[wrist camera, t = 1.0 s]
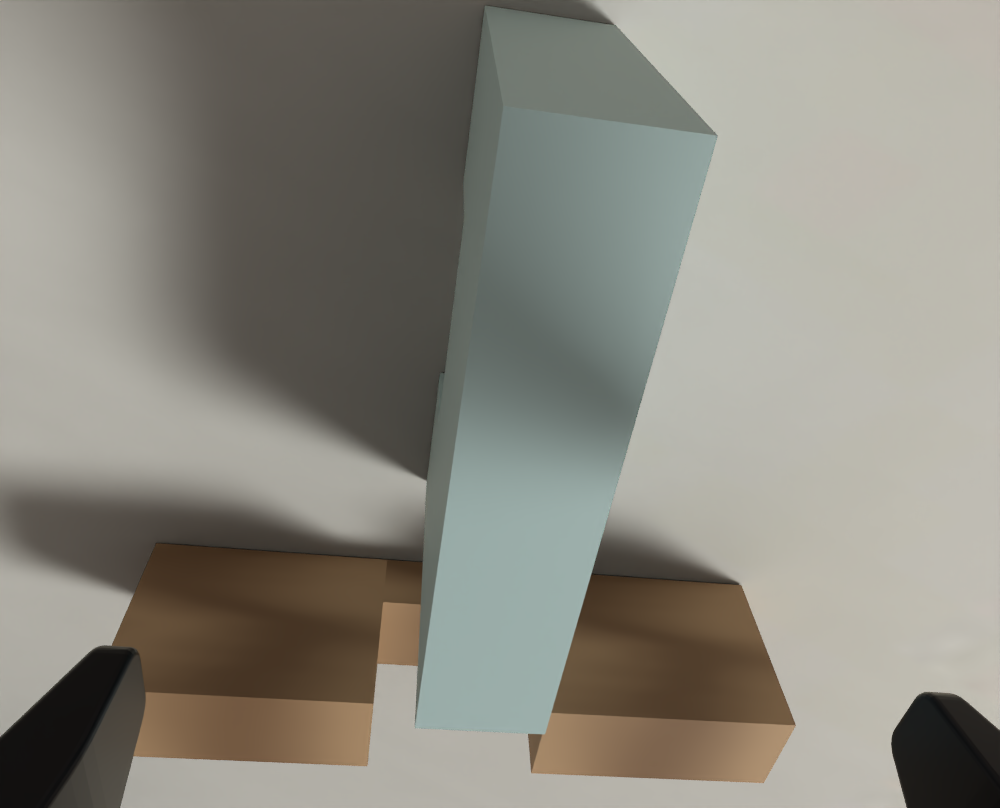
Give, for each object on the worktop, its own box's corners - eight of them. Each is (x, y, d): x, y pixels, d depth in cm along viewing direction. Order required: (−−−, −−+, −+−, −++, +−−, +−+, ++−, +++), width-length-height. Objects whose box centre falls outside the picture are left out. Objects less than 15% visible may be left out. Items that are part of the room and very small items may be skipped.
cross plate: (426, 481, 21) (414, 728, 15) (484, 5, 15) (503, 105, 9) (520, 489, 21) (544, 734, 15) (615, 25, 15) (717, 135, 9)
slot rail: (163, 606, 23) (105, 754, 19) (156, 543, 21) (92, 689, 18) (716, 641, 24) (763, 783, 21) (741, 585, 23) (795, 725, 19)
